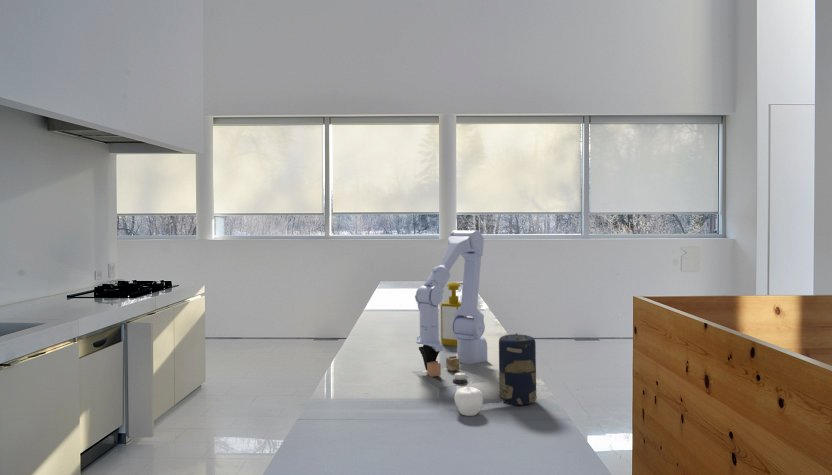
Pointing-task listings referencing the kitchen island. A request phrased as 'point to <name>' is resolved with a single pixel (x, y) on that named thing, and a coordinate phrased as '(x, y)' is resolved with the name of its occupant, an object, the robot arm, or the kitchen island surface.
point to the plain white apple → (468, 400)
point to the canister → (517, 369)
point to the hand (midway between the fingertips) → (429, 370)
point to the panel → (448, 378)
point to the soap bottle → (449, 316)
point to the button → (459, 376)
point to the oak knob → (452, 363)
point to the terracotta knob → (434, 368)
